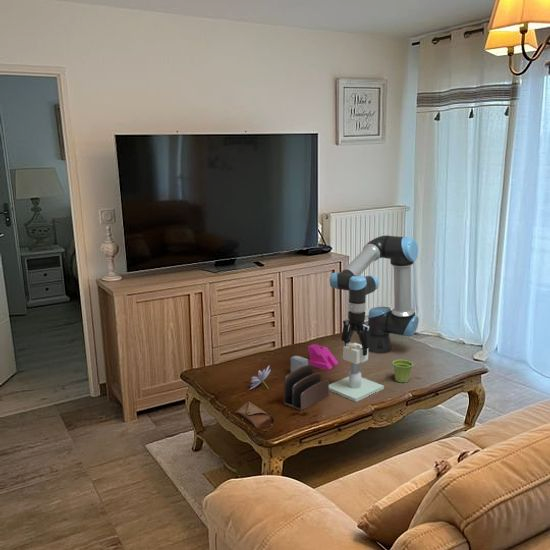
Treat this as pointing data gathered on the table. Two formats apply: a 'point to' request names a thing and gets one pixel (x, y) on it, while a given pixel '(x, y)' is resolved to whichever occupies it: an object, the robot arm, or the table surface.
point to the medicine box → (298, 362)
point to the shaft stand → (355, 385)
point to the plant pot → (402, 370)
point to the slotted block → (353, 353)
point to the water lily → (260, 378)
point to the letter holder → (304, 388)
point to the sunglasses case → (254, 415)
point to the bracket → (321, 357)
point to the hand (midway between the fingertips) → (355, 358)
